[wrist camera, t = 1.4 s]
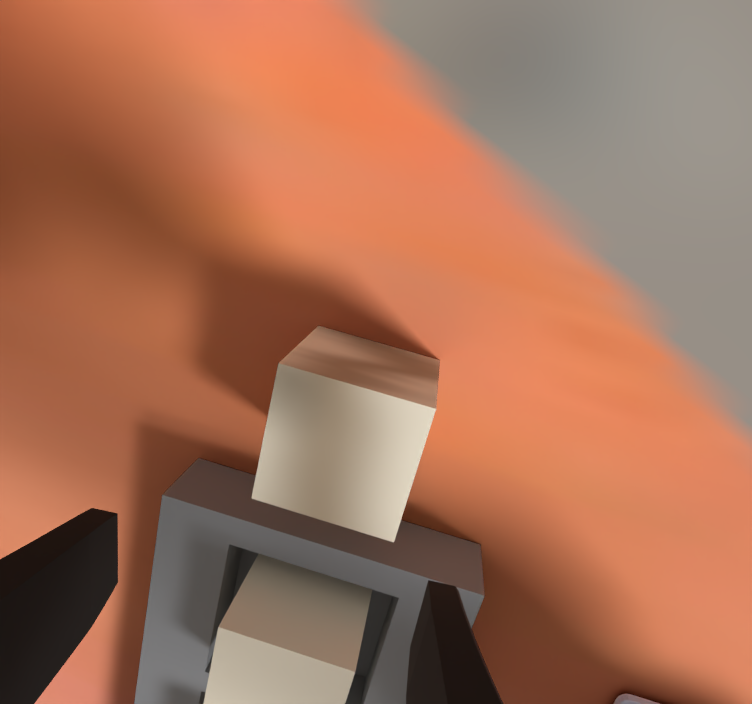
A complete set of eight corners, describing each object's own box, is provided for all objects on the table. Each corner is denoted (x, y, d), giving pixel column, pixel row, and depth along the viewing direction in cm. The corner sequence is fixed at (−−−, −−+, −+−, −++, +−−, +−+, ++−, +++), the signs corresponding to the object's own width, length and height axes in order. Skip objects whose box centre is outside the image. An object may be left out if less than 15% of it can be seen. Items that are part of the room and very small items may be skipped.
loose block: (440, 359, 20) (435, 408, 15) (406, 467, 22) (393, 542, 17) (318, 325, 20) (278, 363, 16) (294, 433, 22) (251, 498, 17)
